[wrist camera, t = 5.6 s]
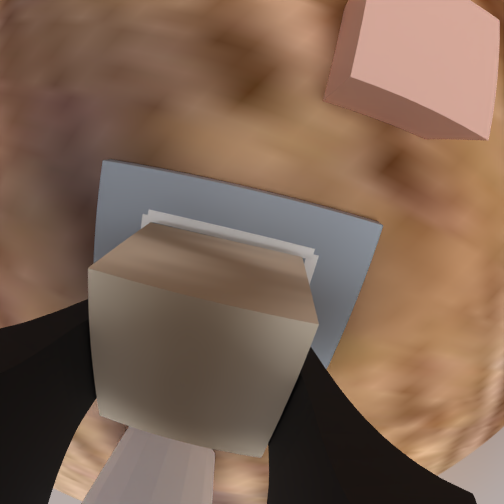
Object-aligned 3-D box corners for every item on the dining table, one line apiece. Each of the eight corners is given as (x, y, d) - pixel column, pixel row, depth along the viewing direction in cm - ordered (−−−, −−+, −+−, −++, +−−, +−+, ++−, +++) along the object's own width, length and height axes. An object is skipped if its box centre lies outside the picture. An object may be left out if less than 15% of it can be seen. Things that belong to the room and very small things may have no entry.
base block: (140, 344, 12) (99, 415, 8) (150, 222, 10) (87, 267, 6) (264, 374, 12) (261, 457, 8) (302, 257, 10) (319, 324, 6)
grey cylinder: (146, 394, 14) (95, 506, 8) (250, 454, 15) (240, 560, 9) (101, 438, 16) (61, 518, 10) (187, 486, 17) (168, 566, 11)
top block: (322, 101, 10) (350, 76, 6) (344, 7, 8) (374, -47, 5) (424, 138, 10) (488, 140, 6) (440, 48, 8) (499, 20, 5)
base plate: (100, 352, 13) (95, 360, 13) (110, 159, 11) (102, 160, 10) (304, 403, 14) (305, 413, 13) (377, 221, 11) (383, 225, 10)
